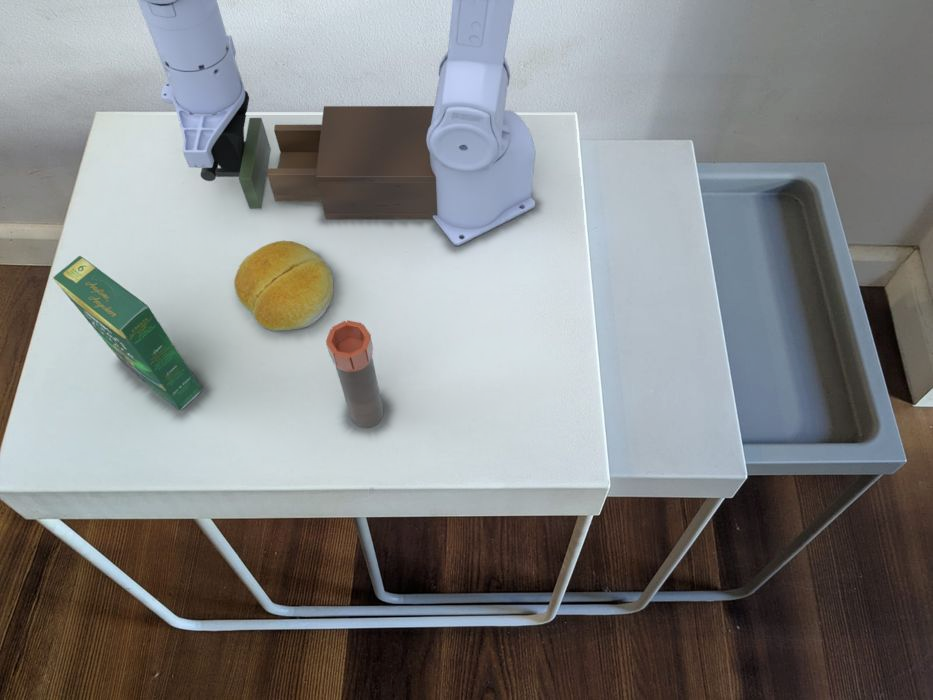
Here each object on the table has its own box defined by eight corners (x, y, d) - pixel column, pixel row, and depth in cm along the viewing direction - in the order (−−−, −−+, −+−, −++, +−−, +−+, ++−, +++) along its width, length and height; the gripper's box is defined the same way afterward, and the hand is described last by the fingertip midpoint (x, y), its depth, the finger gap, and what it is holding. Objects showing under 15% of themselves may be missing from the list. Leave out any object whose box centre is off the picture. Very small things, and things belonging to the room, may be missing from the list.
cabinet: (325, 219, 76) (315, 176, 70) (332, 151, 80) (323, 105, 75) (443, 219, 76) (442, 176, 71) (444, 150, 80) (443, 105, 75)
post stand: (373, 392, 66) (359, 331, 57) (389, 417, 65) (378, 359, 56) (344, 408, 66) (326, 349, 57) (360, 434, 64) (344, 377, 56)
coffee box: (117, 362, 68) (47, 275, 56) (142, 339, 69) (79, 250, 57) (179, 413, 65) (119, 334, 54) (204, 390, 66) (151, 306, 55)
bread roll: (280, 350, 68) (270, 327, 65) (226, 287, 72) (214, 261, 68) (355, 300, 71) (349, 275, 68) (299, 240, 74) (291, 214, 71)
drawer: (206, 209, 75) (192, 178, 71) (218, 149, 79) (206, 117, 75) (357, 208, 75) (351, 178, 72) (361, 149, 79) (357, 117, 75)
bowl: (360, 330, 58) (356, 314, 56) (380, 359, 56) (377, 344, 54) (324, 348, 57) (319, 333, 55) (343, 379, 56) (339, 364, 54)
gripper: (161, -9, 67) (203, 110, 79) (126, 110, 60) (178, 222, 72) (243, -8, 67) (272, 111, 79) (218, 111, 60) (254, 222, 72)
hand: (232, 164), depth 75 cm, fingers closed, pressing on drawer
